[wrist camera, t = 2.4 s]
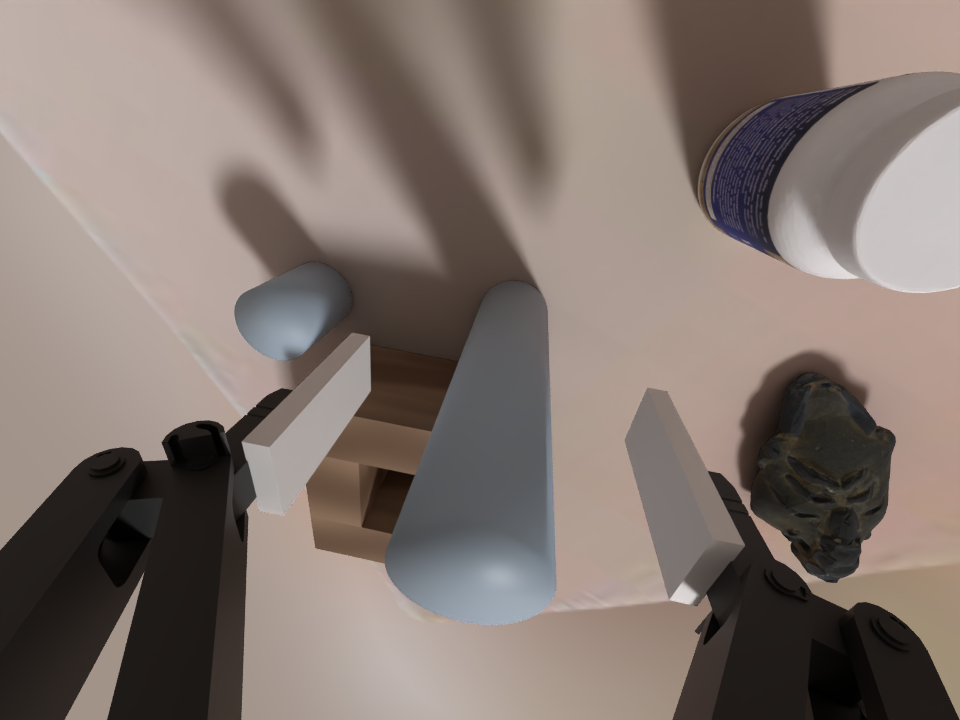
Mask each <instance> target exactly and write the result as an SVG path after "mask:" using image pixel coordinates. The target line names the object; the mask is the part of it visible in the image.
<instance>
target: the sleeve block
mask: <svg viewBox="0 0 960 720" xmlns="http://www.w3.org/2000/svg"><path fill="white" fill-rule="evenodd" d="M457 365H458V362H457V361H452V360H447V359H442V358H436V357H431V356H426V355H420V354H415V353H410V352H404V351H399V350H394V349H388V348H383V347H378V346H372V345H370V368H371V391H370V393H369V394H368V396H367V397H366V399H365V400H364V401H363V403H362V404H361V406H360V407H359V409H358V410H357V412H356V413H355V414H354V416H353V417H352V419H351V420H350V422H349V423H348V424H347V426H346V427H345V429H344V430H343V432H342V433H341V435H340V436H339V437H338V439H337V440H336V442H335V443H334V445H333V446H332V447H331V449H330V450H329V452H328V453H327V455H326V456H325V457H324V459H323V460H322V462H321V463H320V465H319V466H318V468H317V469H316V470H315V472H314V473H313V475H312V476H311V478H310V479H309V480H308V482H307V483H306V487H307V494H308V501H309V507H310V514H311V521H312V528H313V535H314V541H315V548H317V549H322V550H326V551H331V552H335V553H340V554H345V555H349V556H353V557H358V558H363V559H367V560H372V561H376V562H381V563H385V552H386V549H387V546H388V544H389V541H390V538H391V536H392V533H393V531H394V528H395V525H396V523H397V520H398V518H399V515H400V512H401V510H402V507H403V505H404V502H405V499H406V497H407V494H408V492H409V489H410V486H411V484H412V481H413V479H414V476H415V473H416V471H417V468H418V466H419V463H420V461H421V458H422V455H423V453H424V450H425V448H426V445H427V442H428V440H429V437H430V435H431V432H432V429H433V427H434V424H435V422H436V419H437V416H438V414H439V411H440V409H441V406H442V403H443V401H444V398H445V396H446V393H447V390H448V388H449V385H450V383H451V380H452V378H453V375H454V372H455V370H456V367H457Z"/></svg>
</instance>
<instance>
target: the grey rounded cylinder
mask: <svg viewBox="0 0 960 720" xmlns="http://www.w3.org/2000/svg"><path fill="white" fill-rule="evenodd" d="M351 306H352V295H351V291H350V288H349V286H348V284H347V282H346V281H345V279H344V278H343V277H342V276H341V275H340V274H339V273H338V272H337V271H336V270H335V269H333V268H332V267H330V266H328V265H326V264H323V263H319V262H309V263H305V264H302V265H300V266H298V267H296V268H294V269H292V270H290V271H288V272H286V273H284V274H282V275H280V276H278V277H276V278H273V279H271V280H269V281H267V282H265V283H263V284H261V285H259V286H257V287H255V288H253V289H251V290H249V291H247V292H245V293H243V294H242V295H241V296H240V297H239V298H238V300H237V302H236V305H235V320H236V324H237V326H238V329H239V331H240V333H241V334H242V336H243V337H244V339H245V340H246V341H247V342H248V343H249V344H250V345H251V346H252V347H253V348H254V349H255V350H257V351H258V352H260V353H261V354H263V355H265V356H267V357H270V358H272V359H276V360H285V361H286V360H293V359H296V358H298V357H299V356H301V355H302V354H303V353H304V352H306V351H307V350H308V349H309V348H310V347H311V346H313V345H314V344H315V343H316V342H317V341H319V340H320V339H321V338H322V337H323V336H324V335H326V334H327V333H328V332H329V331H330V330H331V329H333V328H334V327H335V326H336V325H337V324H338V323H340V322H341V321H342V320H343V319H344V318H345V317H346V316H347V315H348V314H349V312H350V310H351Z"/></svg>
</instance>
